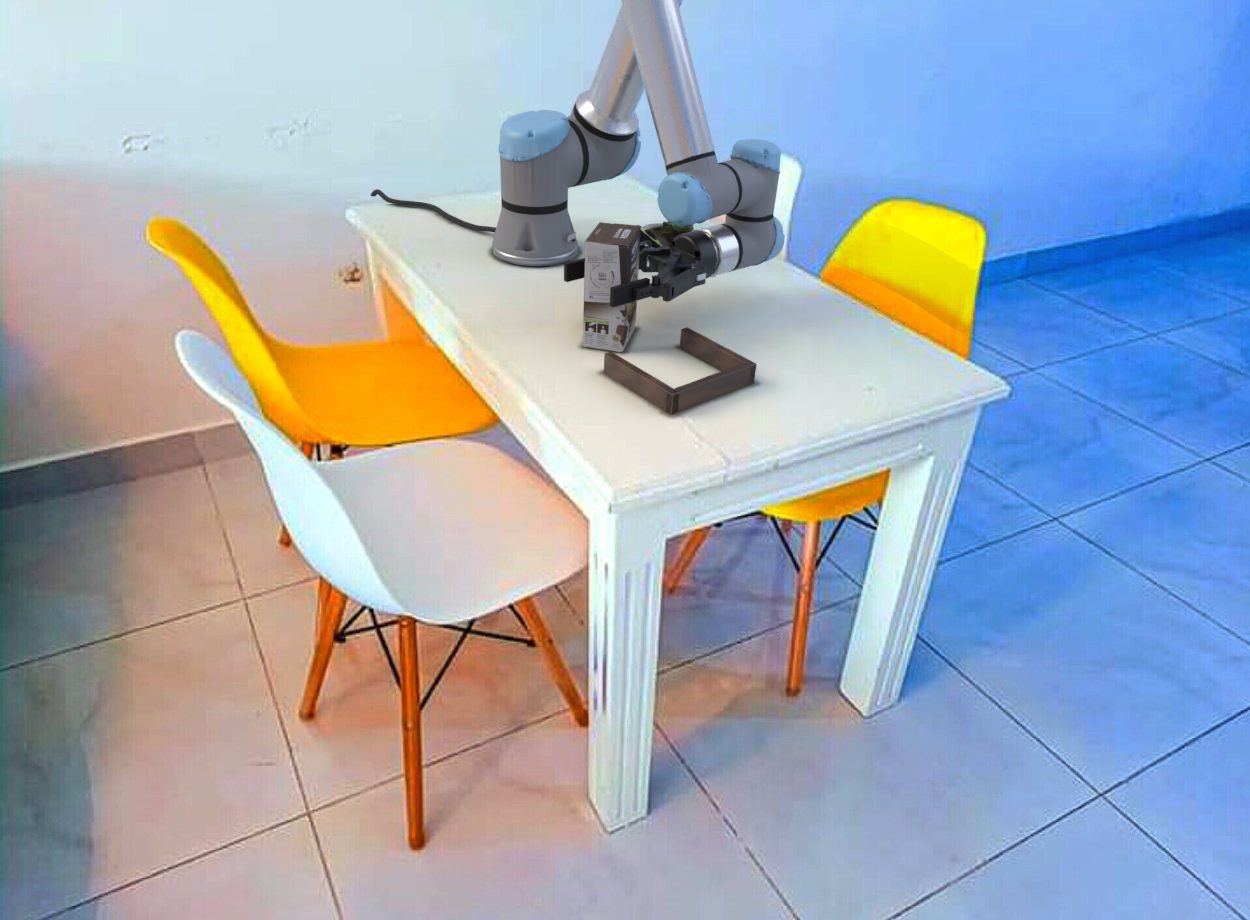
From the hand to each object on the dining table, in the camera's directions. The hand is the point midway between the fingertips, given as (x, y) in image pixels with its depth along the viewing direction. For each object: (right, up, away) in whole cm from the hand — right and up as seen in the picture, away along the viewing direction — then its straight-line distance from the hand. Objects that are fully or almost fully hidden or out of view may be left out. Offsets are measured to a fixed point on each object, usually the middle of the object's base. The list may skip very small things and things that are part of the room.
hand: (588, 284), depth 129 cm
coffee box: (+3, -7, +8) cm, 10 cm away
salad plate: (+14, +14, +41) cm, 45 cm away
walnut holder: (+12, -13, -2) cm, 18 cm away
